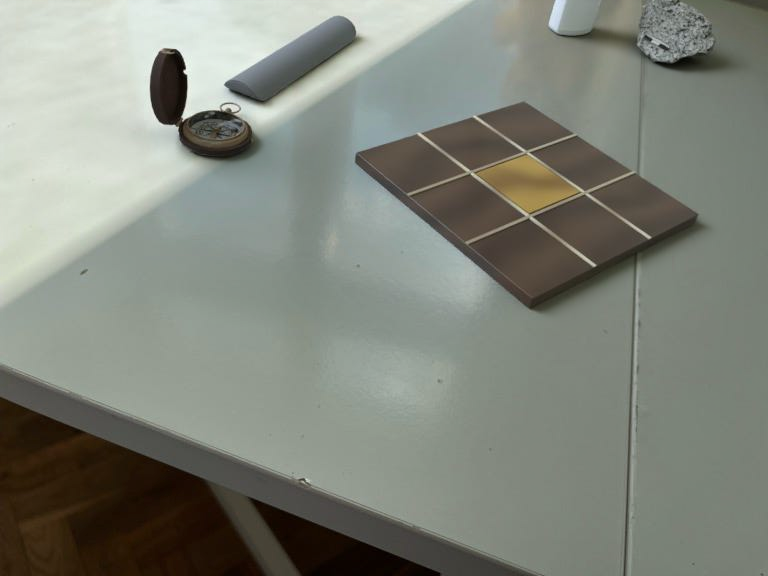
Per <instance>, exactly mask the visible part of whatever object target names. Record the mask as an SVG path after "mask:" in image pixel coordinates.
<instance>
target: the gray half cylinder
mask: <svg viewBox="0 0 768 576" xmlns="http://www.w3.org/2000/svg"><path fill="white" fill-rule="evenodd" d="M356 37H357V29H356V26H355V24H354V23H353V22H352V21H351V20H350V18H347V17H346V16H344V15H334V16H333V15H332V16H331V17H329V18H327V19H326V20H324V21H322V22H321V23H319V24H318V25H315V26H314V27H313V28H311V29H310V30H308V31H306V32H304V33H303V34H301V35H300V36H298V37H297V38H295V39H293V40H291V41H290V42H289V43H287V44H285V45H283V46H282V47H280V48H279V49H277V50H275V51H274V52H272V53H271V54H269V55H267V56H265V57H264V58H262V59H261V60H258V62H256V63H254V64H253V65H251V66H250V67H247V68H246V69H244V70H243V71H241V72H240V73H238V74H236V75H235V76H233V77H232V78H230V79H228V80H226V81H225V82H224V84H223V86H224V87H225V88H228V89H230V90H232V91H234V92H237V93H239V94H242V95H245V96H248V97H250V98H253V99H255V100H258V101H267V100H268V99H269V98H270V99H271V97H272V96H274V95H275V94H277V93H278V92H280V91H281V90H283V89H284V88H286V87H287V86H289V85H290V84H292V83H293V82H295V81H296V80H297V79H299V78H300V77H302V76H303V75H305V74H307V73H308V72H309V71H311V70H312V69H313V68H315V67H317V66H318V65H319V64H321V63H322V62H324V61H326V60H327V59H328V58H330V57H332V56H333V55H334V54H336V53H337V52H339V51H340V50H341V49H343V48H345V47H346V46H347V45H349V44H351V42H354V40H355V38H356Z"/></svg>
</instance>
